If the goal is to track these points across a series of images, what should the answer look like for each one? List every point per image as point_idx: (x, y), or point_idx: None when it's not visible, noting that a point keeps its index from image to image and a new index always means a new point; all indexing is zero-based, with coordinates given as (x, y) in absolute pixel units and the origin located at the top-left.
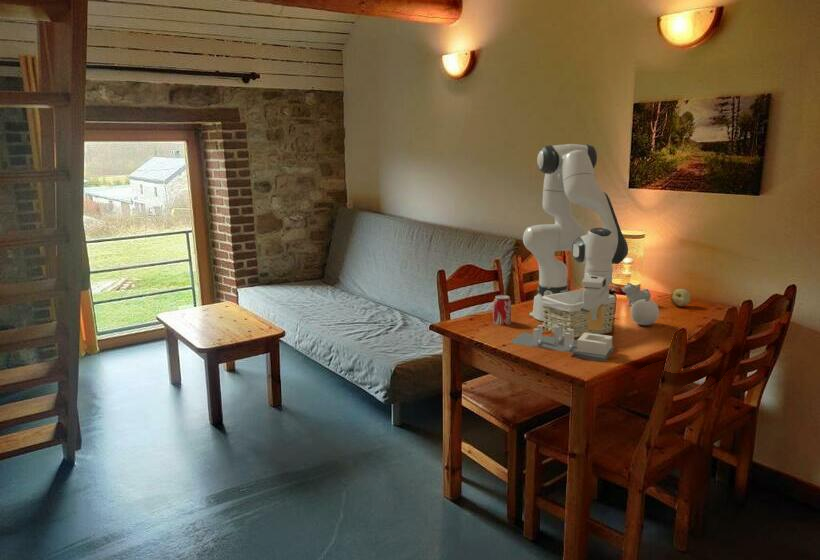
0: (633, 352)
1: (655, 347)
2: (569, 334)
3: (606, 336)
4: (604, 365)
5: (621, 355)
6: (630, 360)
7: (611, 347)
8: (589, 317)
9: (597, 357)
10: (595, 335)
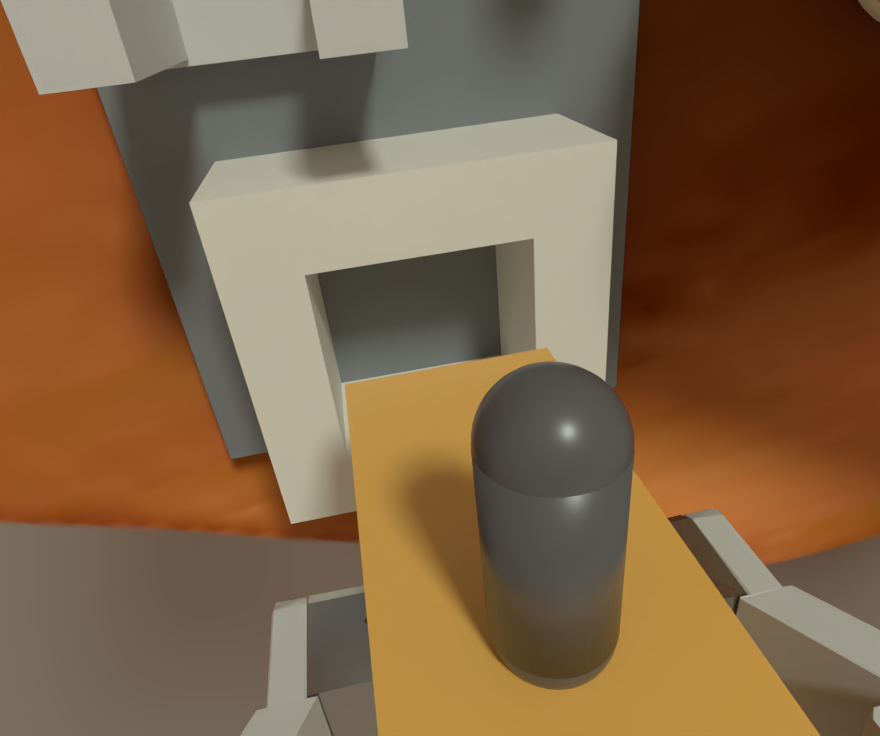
0: None
1: (763, 538)
2: (76, 88)
3: None
4: (155, 463)
5: None
6: None
7: None
8: (362, 544)
9: (211, 399)
10: (539, 320)
